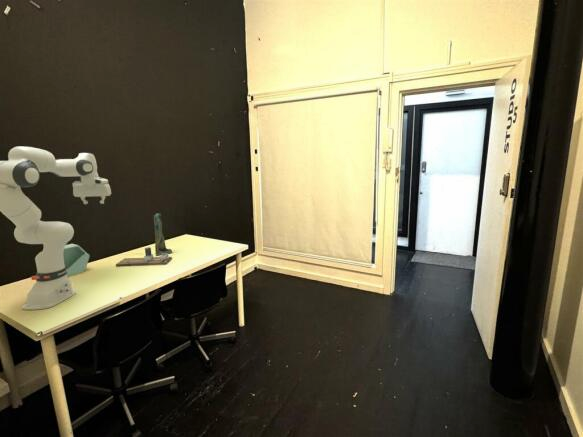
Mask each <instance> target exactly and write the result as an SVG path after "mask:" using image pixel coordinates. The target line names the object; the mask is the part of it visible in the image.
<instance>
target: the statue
mask: <svg viewBox="0 0 583 437" xmlns="http://www.w3.org/2000/svg"><path fill="white" fill-rule="evenodd" d="M161 216H162V213H155V214H154V215H153V223H154V224H153V225H154V238H155V241H154V242H155V243H154V246H155V247H154V250H155V253H154V254H155V256H156V257H159V256H160V255H162V253H165V254H168V255H169V254H172V253H173V251H172V249H171V248H167V246H166V241H165V235H164V234H163V222H162V219H161Z"/></svg>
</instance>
